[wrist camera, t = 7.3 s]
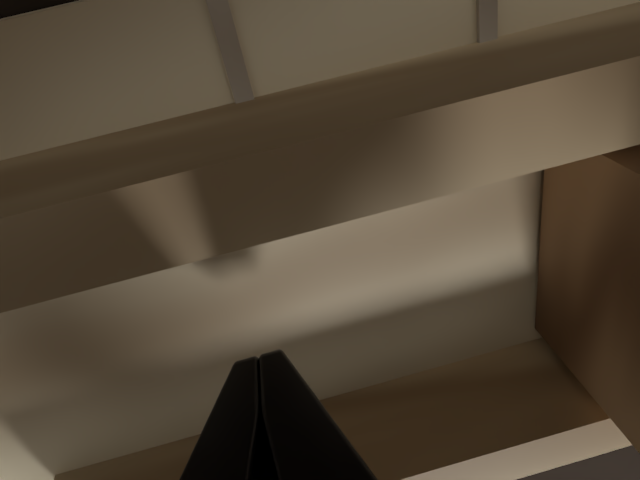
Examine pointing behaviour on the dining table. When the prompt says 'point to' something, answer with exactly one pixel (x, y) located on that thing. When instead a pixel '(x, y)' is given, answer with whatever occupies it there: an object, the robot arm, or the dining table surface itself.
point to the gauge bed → (296, 224)
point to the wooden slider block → (594, 278)
